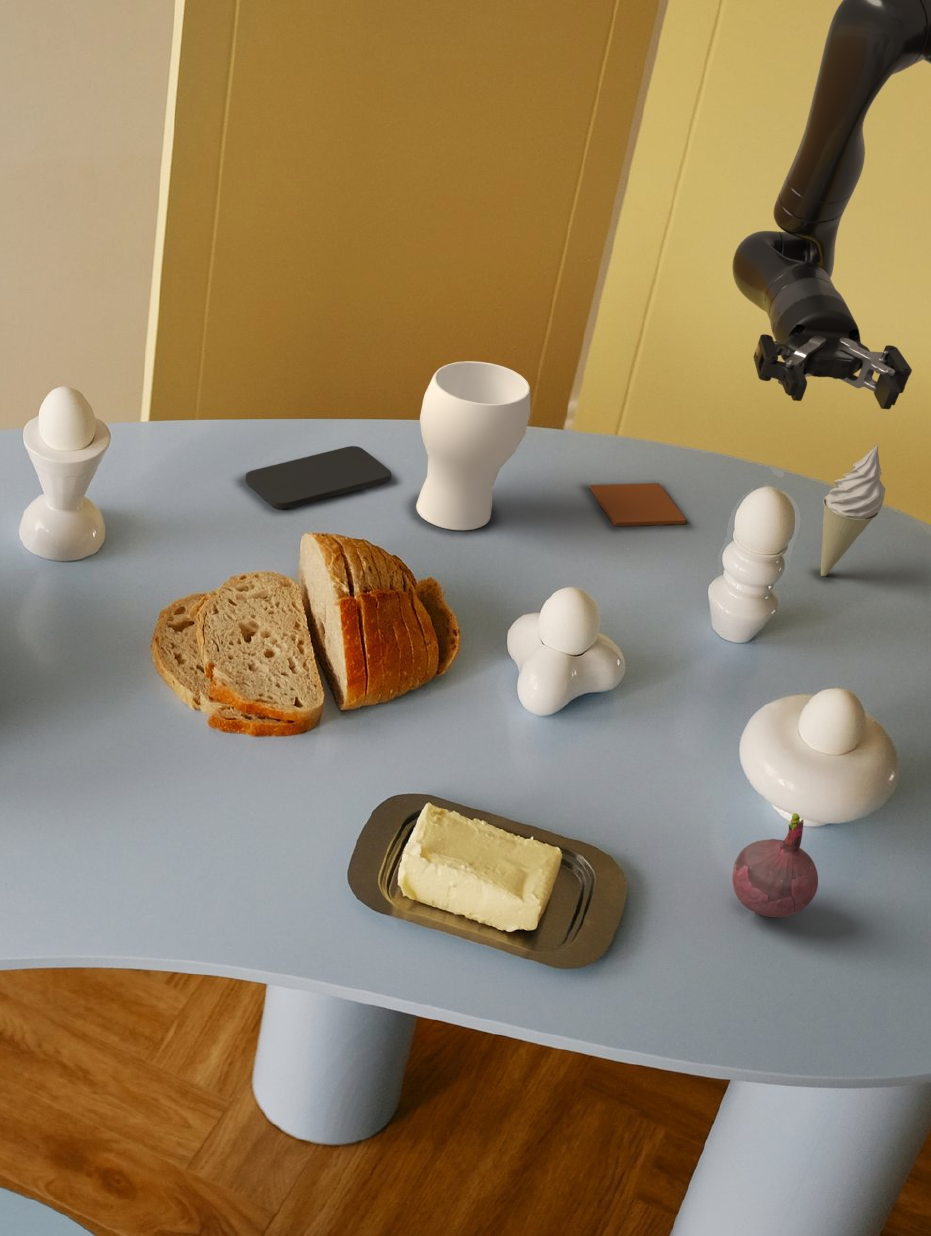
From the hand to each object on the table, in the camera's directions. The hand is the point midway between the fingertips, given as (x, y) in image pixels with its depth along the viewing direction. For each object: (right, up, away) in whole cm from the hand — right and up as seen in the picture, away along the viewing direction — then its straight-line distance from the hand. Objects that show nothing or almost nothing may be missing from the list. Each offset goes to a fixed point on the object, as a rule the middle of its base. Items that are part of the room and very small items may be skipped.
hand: (845, 397), depth 165 cm
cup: (-37, -10, +9) cm, 39 cm away
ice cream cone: (-2, -18, +1) cm, 18 cm away
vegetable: (-26, -48, -36) cm, 66 cm away
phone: (-50, -6, +14) cm, 53 cm away
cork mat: (-17, -9, +10) cm, 22 cm away
